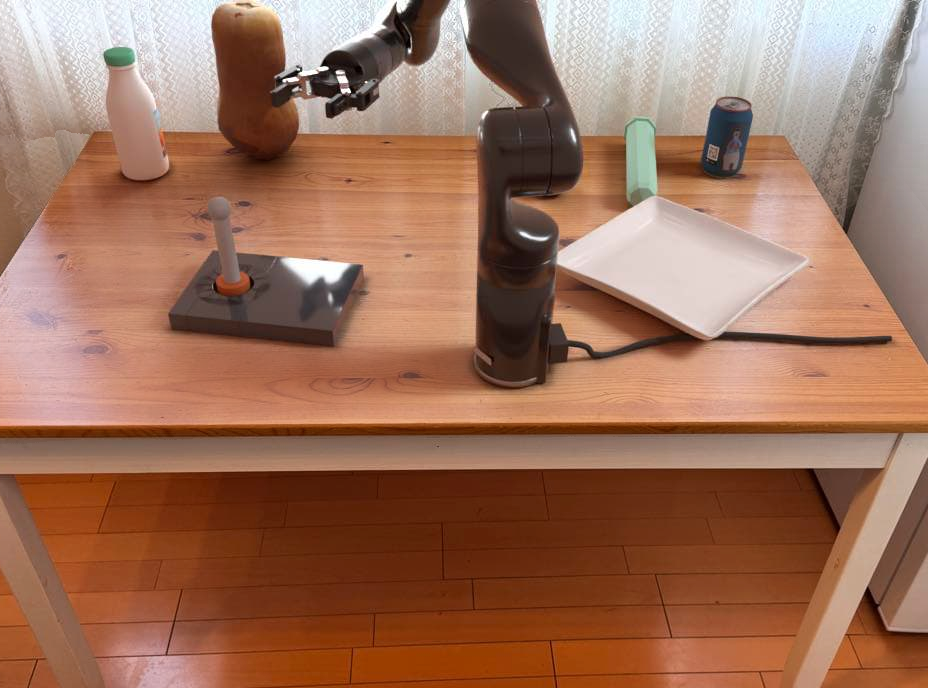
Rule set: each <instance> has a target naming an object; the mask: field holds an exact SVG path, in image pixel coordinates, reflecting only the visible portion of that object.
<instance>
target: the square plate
mask: <svg viewBox="0 0 928 688" xmlns="http://www.w3.org/2000/svg"><path fill="white" fill-rule="evenodd" d="M811 262H812V260H811V259H810V258H809V257H808V256H806V255H804V254H803V253H799V252H797V251H794V250H792V249H790V248H787V247H785V246H783V245H781V244H778V243H776V242H773V241H772V240H769V239H766V238H764V237H761V236H759V235H757V234H754V233H752V232H750V231H748V230H745V229H743V228H740V227H738V226H735V225H733V224H731V223H728V222H725V221H723V220H721V219H719V218H716V217H714V216H712V215H709V214H707V213H703V212H701V211H698V210H696V209H693V208H691V207H688V206H685V205H682V204H680V203H677V202H675V201H671V200H669V199H666V198H664V197H661V196H658V195H657V196H651V197H649V198H647V199H646V200H644V201H642V202H640V203H639V204H637V205H635V206H634V207H633V206H632V207H630V208H628V209H627V210H625V211H623V212H622V213H620V214H618V215H617V216H614V217H613V218H611V219H610V220H608V221H606V222H605V223H603V224H601V225H600V226H598V227H596V228H595V229H593V230H592V231H589V232H587V233H586V234H585V235H583V236H581V237H580V238H578V239H577V240H575V241H572V243H570V244H568V245H567V246H565V247H564V248H562V249H560V250H558V257H557V268H556V269H558V270H560V272H562V273H564V274H566V275H568V276H570V277H571V278H573V279H575V280H578V281H579V282H582V283H584V284H586V285H588V286H590V287H593V288H595V289H597V290H599V291H602V292H604V293H606V294H608V295H611V296H613V297H614V298H617V299H618V300H621V301H623V302H625V303H627V304H629V305H632V306H633V307H635V308H638V309H640V310H642V311H643V312H646V313H647V314H650V315H651V316H654V317H655V318H658V319H660V320H661V321H663V322H665V323H667V324H669V325H671V326H672V327H674V328H676V329H678V330H679V331H680V330H681V331H683V332H684V333H685V334H686V333H688V334H690V335H693V336H695V337H697V338H700V340H702V341H711V340H713V339H717V338H716V337H718V336H719V335H721V334H722V333H723V332H727V330H728V329H730V328H731V327H732V326H733V325H734V324H735V323H737V321H738V320H739V319H740V318H742V317H743V316H744V315H745V314H746V313H747V312H748V311H749V310H751V309H752V308H754V306H755V305H757V304H758V303H759V302H760V301H761V300H762V299H764V298H765V297H766V296H768V295H770V293H772V292H773V291H774V290H776V289H777V288H779V287H780V286H782V285H784V284H785V283H786V282H787V281H789V280H790V279H791V278H793V277H794V276H795V275H797V274H798V273H799V272H801V271H802V270H803V269H805V268H806V267H808V266H809V265H810V264H811Z"/></svg>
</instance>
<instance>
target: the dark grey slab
mask: <svg viewBox="0 0 928 688" xmlns="http://www.w3.org/2000/svg"><path fill="white" fill-rule="evenodd" d="M236 255H237V260H238V266H239V271H240V272H244V273H246V274H247V275H248V276H249V280H250V286H251V289H250V290H249V291H248V292H246V293H243V294H240V295H235V296H226V295H221V294H218V290H217V285H216V279H217V278H218V277H219V276H220V275H221V274H223V272H222V267H221V262H220V257H219V251H218V249H217V250H216V249H212V250H211V251H210V253H209V255H208V256H207V258H206V259H205V261H204V262H203V263H202V264H201V266H200V267H199V268H198V270H197V271H196V273H195V274H194V276H193V277H192V279H191V280H190V281H189V282H188V284H187V286H186V287H185V288H184V290H183V291H182V293H181V294H180V295H179V297H178V298H177V300H176V301H175V303H174V304H173V305H172V307H171V308H170V310H169V311H168V312H167V316H168V321H169V324H170V329H171V330H177V331H178V330H179V331H187V332H195V333H205V334H215V335H223V336H224V335H225V336H234V337H244V338H251V339H252V338H254V339H263V340H271V341H280V342H281V341H282V342H290V343H299V344H310V345H318V346H327V347H335V346H336V344H337V342H338V339H339V336H340V335H341V332H342V330H343V328H344V325H345V323H346V321H347V319H348V317H349V314H350V312H351V310H352V308H353V306H354V302H355V301H356V298H357V296H358V294H359V292H360V289H361V287H362V285H363V283H364V280H365V273H364V264H361V263H350V262H342V261H341V262H340V261H330V260H329V261H328V260H320V259H309V258H297V257H287V256H277V255H268V254H257V253H249V252H248V253H247V252H239V251H236Z"/></svg>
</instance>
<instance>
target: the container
mask: <svg viewBox="0 0 928 688" xmlns="http://www.w3.org/2000/svg"><path fill="white" fill-rule="evenodd" d="M656 132H657V125H656V124H655V123H654V122H653V120H652V119H651V118H650V117H649V116H643V115H642V116H639V115H635V116H633V117H632V118H631V119H630V120H628V121H627V122H626V123H625V124H624V130H623V139H624V140H625V146H626V147H625V157H626V159H625V161H626V163H625V164H626V166H625V167H626V172H625V173H626V201H627V202H628V203H629V204H630V205H631V206H632V207H634V206H635V205H637V204H639V203H640V202H642V201H644V200H646V199H647V198H649V197H651V196H658V191H659V190H658V175H657V158H656V157H657V156H656V145H655V142H656V141H655V140H656V134H657V133H656Z"/></svg>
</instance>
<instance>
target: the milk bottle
mask: <svg viewBox="0 0 928 688" xmlns="http://www.w3.org/2000/svg"><path fill="white" fill-rule="evenodd" d="M102 55H103V60H104V64H105V68H107V70H108V84H107V88H106V94H105V107H106V112H107V118H108V122H109V126H110V131H111V134H112V138H113V143H114V146H115V151H116V154H117V158H118V162H119V166H120V170H121V172H122V174H123V175H124V177H126V178H128V179H129V180H133V181H134V180H135V181H149V180H154V179H157V178H160V177H163V176H164V175H165V174H167V172H168V171H169V170H170V162H169V157H168V156H169V155H168V152H167V148H166V147H167V146H166V143H165V138H164V134H163V129H162V125H161V121H160V115H159V111H158V107H157V103H156V101H155V98H154V95H153V93H152V91H151V90H150V88H149V87H148V86H147V84H146V82H144V79H143V78H142V76H141V75H140V73H139V71H138V69H137V65H138V63H137V58H136V53H135V51H134V49H133V48H131V47H127V46H115V47H111V48H108V49H106V50H105V51H103V54H102Z"/></svg>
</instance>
